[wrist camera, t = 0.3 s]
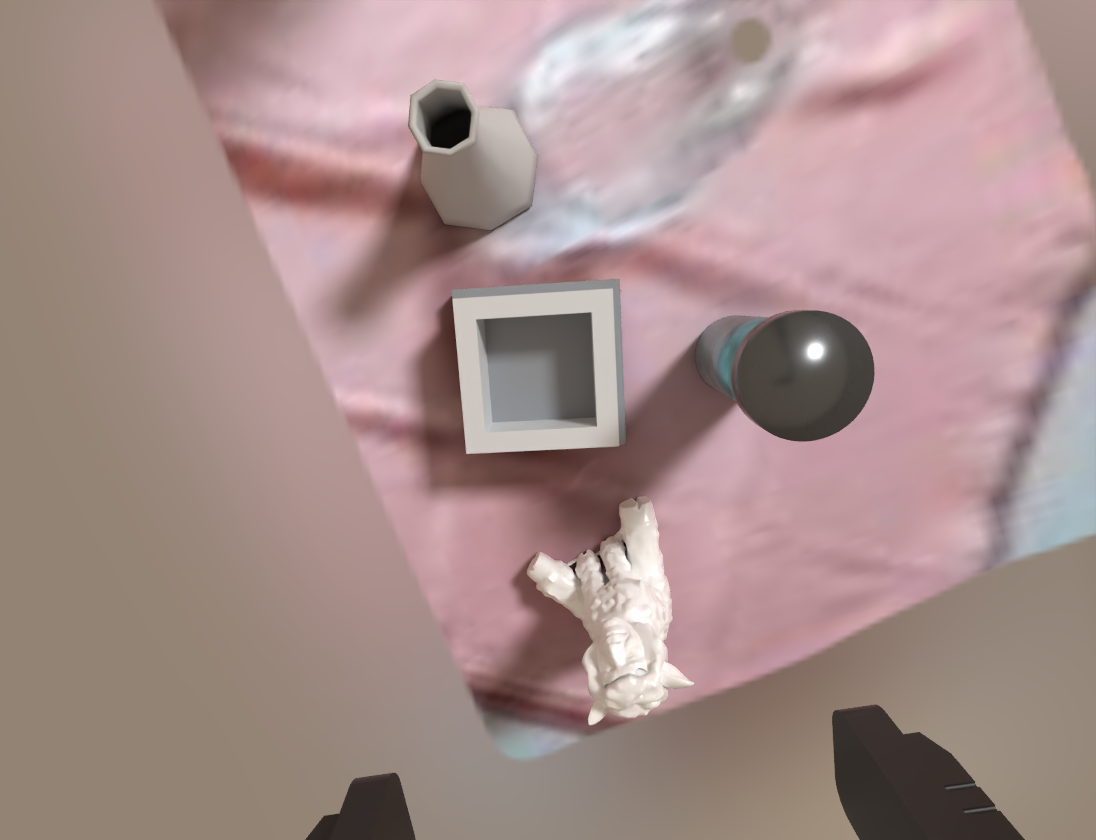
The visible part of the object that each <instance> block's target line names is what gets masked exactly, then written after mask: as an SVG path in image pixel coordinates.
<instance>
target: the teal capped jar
mask: <svg viewBox="0 0 1096 840" xmlns="http://www.w3.org/2000/svg"><path fill="white" fill-rule="evenodd" d="M695 363H696V367H697V370H698V372H699V374H700V376H701V377H702V379H703V380H704V381H705V382H706V383H707V384H708V385H709V386H711V387H712V388H714V389H716V390H717V391H719V392H721V393H722V394H724V395H726V396H727V397H729V398H731V399H732V400H734V401H736V402H737V403H738V405H739V407H740V408H741V410H742V411H743V412H744V414H745V415H746V416H747V417H748V418H749V419H750V420H752V421H753V422H754V423H755V424H757V425H758V426H760V427H761V428H763V429H764V430H766V431H768V432H769V433H771V434H773V435H775V436H777V437H780V438H783V439H786V440H791V441H814V440H818V439H822V438H825V437H828V436H831V435H833V434H835V433H837V432H839V431H840V430H842V429H843V428H845V427H846V426H847V425H848V424H850V423H851V422H852V421H853V420H854V419H855V418H856V417H857V416H858V414H859V413H860V412H861V410H862V409H863V408H864V406H865V404H866V402H867V400H868V398H869V396H870V393H871V390H872V386H873V382H874V361H873V356H872V353H871V350H870V347H869V345H868V343H867V341H866V340H865V338H864V337H863V335H862V334H861V333H860V331H859V330H858V329H857V328H856V327H855V326H853V325H852V324H851V323H850V322H848V321H847V320H845V319H843V318H842V317H839V316H837V315H835V314H831V313H828V312H823V311H807V310H794V311H787V312H783V313H779V314H776V315H774V316H771V317H769V318H767V317H751V316H728V317H724V318H721V319H719V320H717V321H715V322H714V323H712V324H711V325H710V326H708V327H707V328H706V329H705V331H704V332H703V333H702V335H701V336H700V338H699V340H698V342H697V345H696V350H695Z"/></svg>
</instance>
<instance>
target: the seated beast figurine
mask: <svg viewBox="0 0 1096 840" xmlns="http://www.w3.org/2000/svg"><path fill="white" fill-rule="evenodd" d="M619 515H620V519H621V528H620V530H619V531H618V532H617V533H616V534H615V535H614V536H609V537H608V538H607V539H606V540H605V541H602V542H601V545H600V551H599V552H597V553H594V552H593V551H592V550H587V551H586V553H585V554H584V555H583V553H582V552H581V553H580V554H579V556H578V557H577V558H575V559H574V560H572V561H570V562H569V563H567V564H566V563H564V562H562V561H561V560H553V559H552V558H551V557H549V556H548V555H546V554H544V553H542V552H540V551H539V552H537V553H536V555H535V558H533V559H532V561H531V563H530V565H529V567H528V569H527V575H528V576H529V577H530V578H531V579H532V580H533V581H534V582H536V583H537V584H536V588H537V589H538V590H539V591H541V592H543V594H544V596H546V597H550V598H552V599H553V600H555V601H556V602H557V603H560V604H562V605H563V606H564V607H565V608H567V609H569V610H570V611H571V612H572V613H573V614H574V616H575V617H577V618H580V619H581V620H582V622H583V626H584V628H585V629H586V630H587V632H588V633H589V636H590V638H591V639H592V641H593V643H592V644H591V646H590V647H589V648H588V649H587V650H586V652H585V653H584V656H583V658H582V664H583V666H584V669H585V672H586V674H587V676H588V690H589V694H590V695H591V696H592V697H593V698H594V699H595V701H594V703H593V706H592V708H591V711H590V714H589V718H588V720H589V725H594V724H595V723H597V722H599V721H600V720H601V719H602V718H603V717H604V716H605V715H606V713H607V712H608V710H610V711H611V712H612V713H613V714H614V715H615V716H618V717H623V718H635V717H636V716H638V715H647V714H648V712H649V711H650V710H652V709H653V708H656V707H657V706H658V705H659V704H660V703H662V702H664V701H665V700H666V698H667V697H668V688H674V689H678V688H686V687H689V686H692V685H694V684H695V683H693V682H692V681H690V680H688V679H687V678H686V677H685V676H684V675H683V674H682V673H681V672H680V671H679V670H678V669H677V668H675V667H674V666H673V665H671V664H669V663H668V655H667V648H666V646H665V645H664V643H663V640H664V639H666V637H667V634H666V633H668V628H669V623H670V622H672V619H673V617H672V615H671V613H672V610H671V607H672V606H671V603H672V599H671V598H670V592H671V591H670V587H669V586H668V585H669V583H668V581H667V577H666V576H665V575H664V568H663V555H662V553H661V551H660V549H659V546H658V539H659V535H660V534H659V532H658V529H657V527H658V524H657V521H656V518H655V513H654V509H653V505H652V502H651V499H650V498H649V497H644V496H642V497H637V499H636V501H635V500H633V499H632V498H630V499H628V500H625V501H623V502H622V503H621V504H620V505H619ZM624 542H625V544H626V547H627V549H626V548H625V546H624V544H623V543H624ZM625 551H627V553H626V555H625ZM598 555H600V556H601V558H602V560H603V563H604V566H605V568H606V575H607V576H604V575H603V574H602V570H601V563H600V559H599V558H598V557H597V556H598ZM576 561H577V564H576V565H577V566H576V568H575V571H576V573H577V574H575V573H574V572H573V570H572V568H570V567H569V566H570V565H572V564H573V563H575V562H576Z"/></svg>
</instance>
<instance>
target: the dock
mask: <svg viewBox="0 0 1096 840" xmlns="http://www.w3.org/2000/svg"><path fill="white" fill-rule="evenodd" d="M452 298H453V311H454V322H455V333H456V344H457V355H458V366H459V378H460V389H461V400H462V411H463V422H464V433H465V445H466V454H475V453H495V452H515V451H536V450H556V449H576V448H596V447H616V446H619V444H626V432H625V407H624V381H623V355H622V330H621V304H620V279H609V280H594V281H579V282H563V283H548V284H533V285H517V286H502V287H487V288H471V289H456V290H452Z"/></svg>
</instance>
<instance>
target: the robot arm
mask: <svg viewBox="0 0 1096 840" xmlns="http://www.w3.org/2000/svg"><path fill="white" fill-rule="evenodd" d="M832 725H833V743H834V763H835V780H836V786H837V790H838V794H839V797H840V801H841V803H842V806H843V809H844V811H845V813H846V816H847V818H848V820H849V821H850V823H851V825H852V827H853V829H854V830H855V832H856V834H857V836H858V837H859V839H860V840H1025V839H1024V838H1023V837H1022V836H1021V835H1020V834H1019V833H1018V831H1017V830H1016V829H1015V828H1014V827H1013V825H1012V824H1011V823H1010V822H1009V821H1008V820H1007V818H1006V817H1005V816H1004V815H1003V814H1002V813H1001V811H997V809H996V808H995V804H994V803H993V802H992V801H991V800H990V798H989V797H988V796H987V795H986V794H985V793H984V792H983V790H982V789H981V788H980V787H977V786H976V784H975V781H974V780H973V779H972V777H971V776H970V775H969V774H968V773H967V772H966V770H965V769H964V768H963V767H962V766H961V765H960V763H959V762H958V761H957V760H956V759H955V758H954V757H953V755H952V754H951V753H949V752H948V751H946V750H945V749H943V748H942V747H941V746H939V745H937V744H936V743H935V742H933V741H932V740H930V739H929V738H927V737H926V736H924V735H923V734H921V733H920V732H917V733H910V734H902V732H901V731H900V730H899V728H898V727H897V726H896V725H895V723H894V722H893V721H892V720H891V718H890V717H889V716H888V714H887V713H886V712H885V711H884V710H883V709H882V708H881V707H880V706H878V705H870V706H862V707H855V708H848V709H841V710H835V711H834V712H833V716H832ZM306 840H415V835H414V831H413V827H412V824H411V820H410V816H409V812H408V808H407V805H406V801H405V797H404V794H403V790H402V786H401V782H400V779H399V777H398V775H397V774H396V773H389V774H382V775H375V776H369V777H362V778H356V779H354V780H353V781H352V783H351V784H350V787H349V789H348V792H347V795H346V797H345V800H344V803H343V806H342V808H341V811H340V814H334V815H328V816H324V817H323V818H322V819H321V821H320V822H319V823H318V824H317V826H316V827H315V828H314V830H313V831H312V832H311V833H310V835H309V836H308V837H307V838H306Z"/></svg>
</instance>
